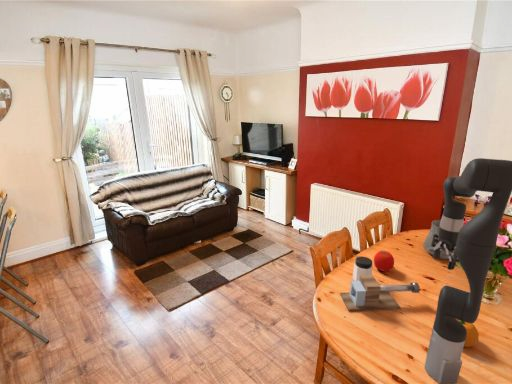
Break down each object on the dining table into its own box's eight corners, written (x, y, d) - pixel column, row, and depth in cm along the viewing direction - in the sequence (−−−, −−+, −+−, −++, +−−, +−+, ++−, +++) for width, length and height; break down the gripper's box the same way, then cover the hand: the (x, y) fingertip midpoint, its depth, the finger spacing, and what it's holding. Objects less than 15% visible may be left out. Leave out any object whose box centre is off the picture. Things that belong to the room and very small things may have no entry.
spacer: (364, 305, 135) (366, 291, 133) (355, 306, 135) (357, 291, 132) (357, 294, 143) (359, 280, 140) (349, 295, 142) (351, 280, 140)
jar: (362, 287, 150) (365, 266, 146) (349, 279, 156) (351, 259, 153) (373, 281, 155) (376, 261, 151) (360, 274, 161) (362, 254, 158)
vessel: (411, 251, 185) (416, 221, 179) (433, 243, 195) (438, 215, 189) (446, 267, 167) (453, 235, 161) (468, 258, 177) (475, 227, 171)
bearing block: (400, 309, 134) (404, 287, 131) (348, 311, 133) (351, 289, 129) (388, 292, 146) (391, 272, 142) (340, 294, 144) (342, 274, 141)
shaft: (413, 288, 141) (414, 280, 140) (418, 294, 137) (420, 286, 135) (363, 290, 140) (364, 281, 139) (367, 296, 136) (369, 288, 134)
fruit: (434, 333, 120) (439, 313, 117) (453, 325, 125) (458, 305, 122) (463, 355, 110) (469, 333, 107) (483, 345, 115) (489, 324, 112)
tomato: (390, 265, 169) (393, 248, 166) (394, 275, 160) (397, 257, 156) (371, 263, 172) (373, 246, 169) (373, 272, 162) (376, 255, 159)
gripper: (473, 234, 110) (464, 273, 115) (447, 220, 124) (440, 255, 128) (454, 235, 110) (446, 273, 114) (430, 220, 123) (423, 255, 128)
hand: (442, 263), depth 121 cm, fingers open, 8 cm apart
